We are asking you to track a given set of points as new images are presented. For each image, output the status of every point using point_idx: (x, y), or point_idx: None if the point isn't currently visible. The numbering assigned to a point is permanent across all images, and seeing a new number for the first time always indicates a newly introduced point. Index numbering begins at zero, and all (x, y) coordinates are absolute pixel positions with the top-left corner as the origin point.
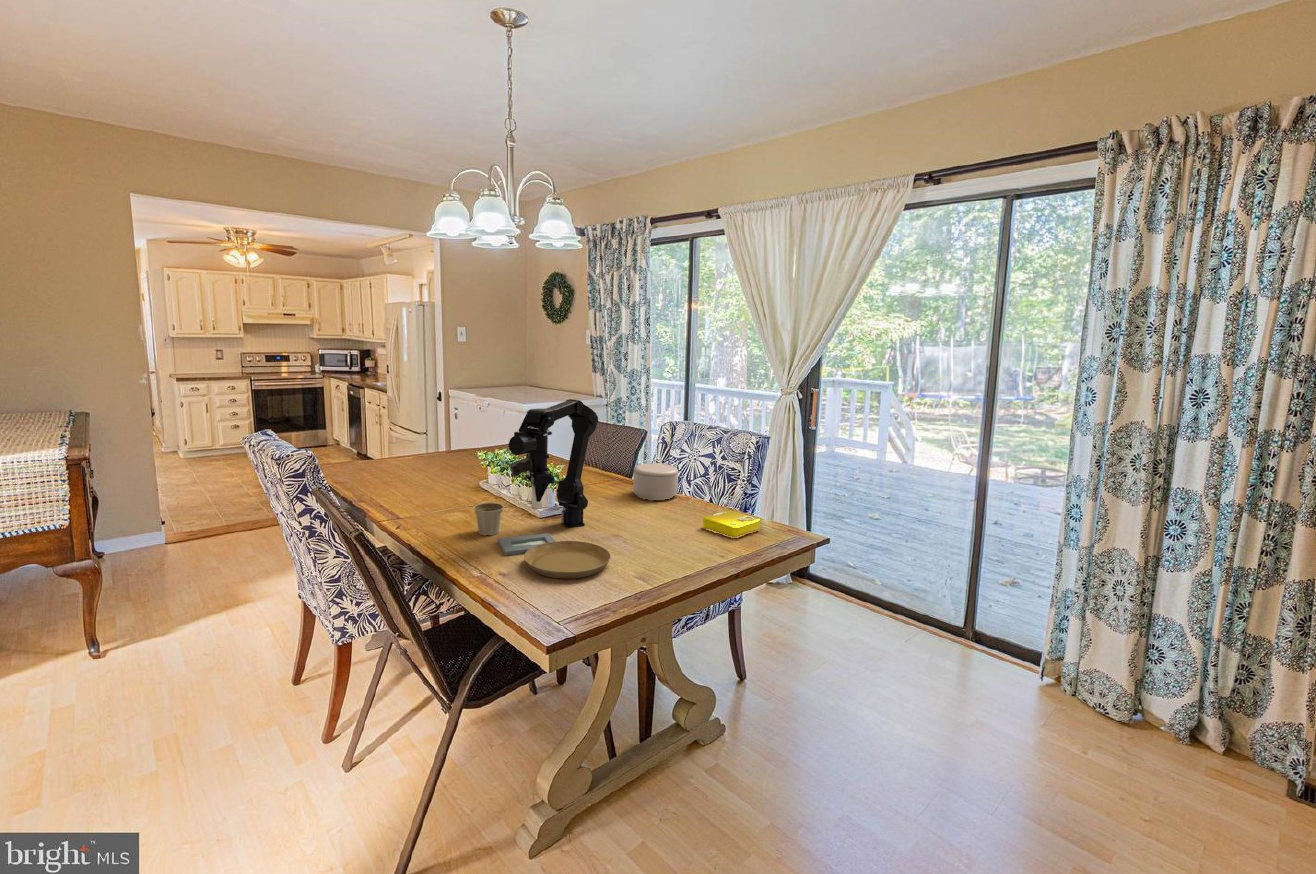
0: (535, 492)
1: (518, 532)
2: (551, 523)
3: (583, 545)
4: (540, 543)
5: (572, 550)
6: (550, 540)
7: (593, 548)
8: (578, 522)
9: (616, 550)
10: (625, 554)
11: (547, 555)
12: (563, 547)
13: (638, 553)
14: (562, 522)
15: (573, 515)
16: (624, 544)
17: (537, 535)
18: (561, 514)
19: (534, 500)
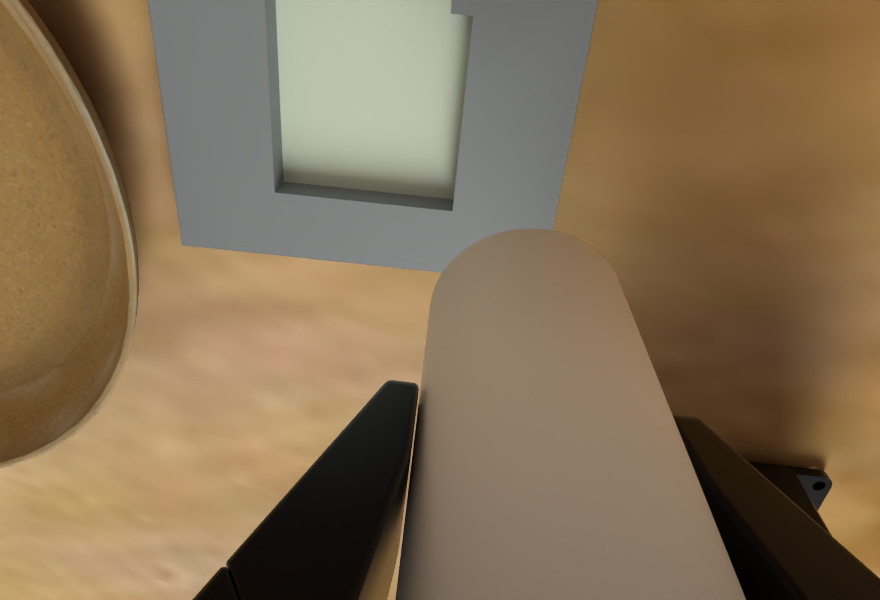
0: (278, 556)
1: (848, 38)
2: (859, 402)
3: (86, 394)
4: (380, 134)
5: (104, 303)
6: (337, 227)
7: (32, 426)
8: None
9: (104, 520)
10: (28, 529)
11: (2, 72)
12: (122, 259)
13: (38, 579)
14: (760, 468)
15: None
16: (198, 583)
17: (531, 166)
18: (822, 522)
19: (458, 359)
